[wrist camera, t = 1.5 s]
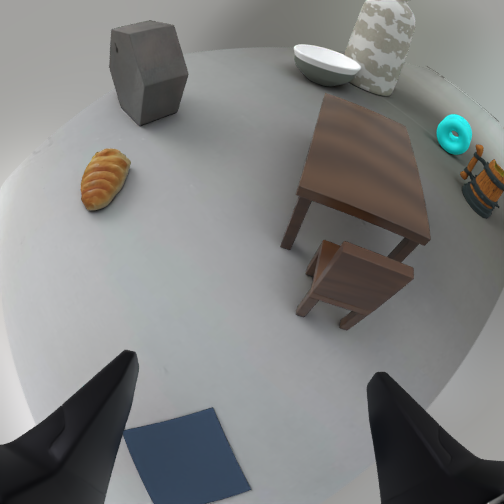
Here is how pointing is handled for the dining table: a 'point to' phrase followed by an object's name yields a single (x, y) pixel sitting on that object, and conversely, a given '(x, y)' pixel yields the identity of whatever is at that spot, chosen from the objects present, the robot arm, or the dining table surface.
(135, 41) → the grey hexagonal prism
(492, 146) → the dining table surface
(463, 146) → the donuts
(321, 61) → the bowl
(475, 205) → the mug
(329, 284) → the chair
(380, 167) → the side table
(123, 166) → the pastry
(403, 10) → the vase
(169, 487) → the mat
